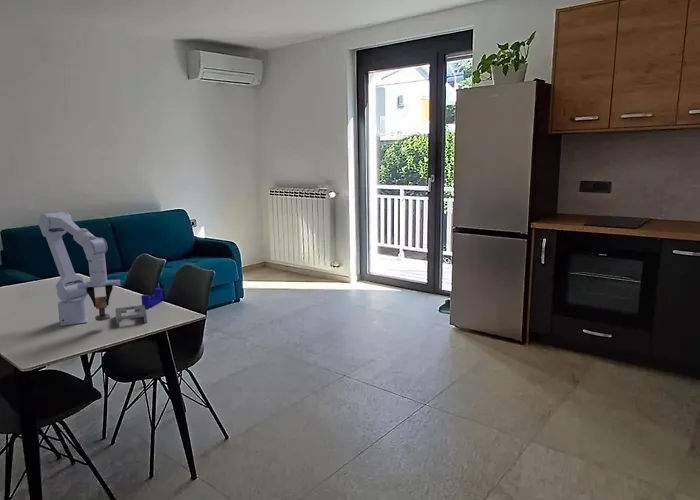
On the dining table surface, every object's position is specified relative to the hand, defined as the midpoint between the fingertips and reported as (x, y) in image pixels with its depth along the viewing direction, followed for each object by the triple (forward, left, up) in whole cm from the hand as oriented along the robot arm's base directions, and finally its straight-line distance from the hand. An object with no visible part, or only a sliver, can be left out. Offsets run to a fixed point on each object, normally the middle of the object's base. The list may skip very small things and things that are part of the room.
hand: (101, 305), depth 193 cm
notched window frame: (+10, +7, -9) cm, 15 cm away
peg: (0, 0, -5) cm, 5 cm away
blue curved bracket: (+19, +25, -10) cm, 33 cm away
